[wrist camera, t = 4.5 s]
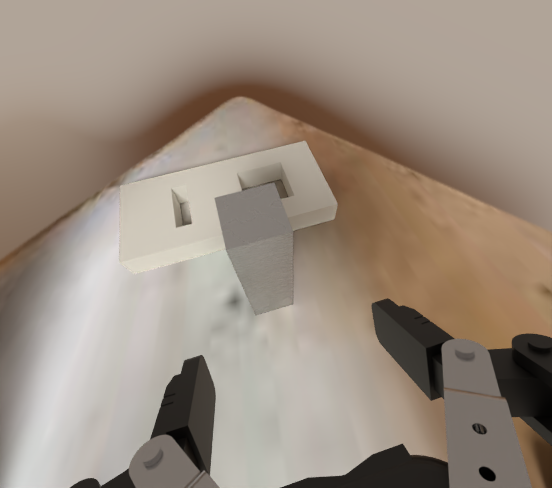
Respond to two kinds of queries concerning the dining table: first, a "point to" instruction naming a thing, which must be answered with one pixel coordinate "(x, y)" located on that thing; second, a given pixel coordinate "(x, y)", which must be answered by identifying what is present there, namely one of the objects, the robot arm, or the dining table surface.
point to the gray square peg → (259, 245)
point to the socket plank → (213, 204)
